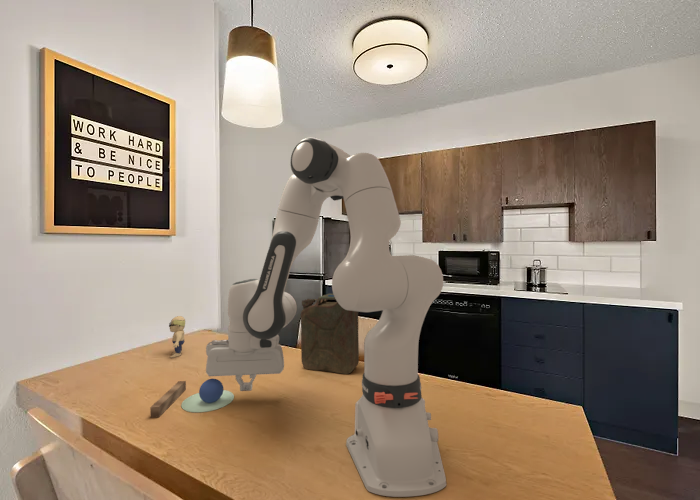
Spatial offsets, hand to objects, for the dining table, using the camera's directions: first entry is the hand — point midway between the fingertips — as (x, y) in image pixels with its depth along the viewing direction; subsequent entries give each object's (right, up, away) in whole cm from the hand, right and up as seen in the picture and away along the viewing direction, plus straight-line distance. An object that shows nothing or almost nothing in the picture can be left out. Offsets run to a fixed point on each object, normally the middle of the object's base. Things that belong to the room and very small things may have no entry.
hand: (246, 390), depth 92 cm
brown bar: (-20, -3, -2) cm, 20 cm away
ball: (-9, 0, -2) cm, 9 cm away
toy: (-38, -3, +38) cm, 54 cm away
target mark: (-10, -3, -1) cm, 10 cm away
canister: (+21, -2, +23) cm, 31 cm away
